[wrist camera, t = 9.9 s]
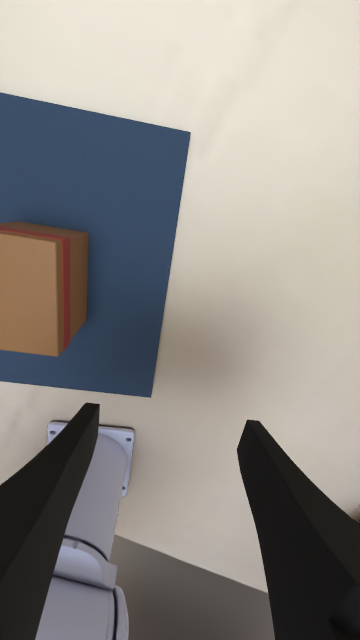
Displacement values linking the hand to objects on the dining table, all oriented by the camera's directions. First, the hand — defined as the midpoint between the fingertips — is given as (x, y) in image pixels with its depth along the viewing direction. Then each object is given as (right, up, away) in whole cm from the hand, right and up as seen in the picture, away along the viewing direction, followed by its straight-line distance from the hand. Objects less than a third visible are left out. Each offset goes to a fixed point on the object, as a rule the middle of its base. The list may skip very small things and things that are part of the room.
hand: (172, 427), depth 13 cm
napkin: (-9, +9, +6) cm, 14 cm away
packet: (-9, +8, +6) cm, 13 cm away
